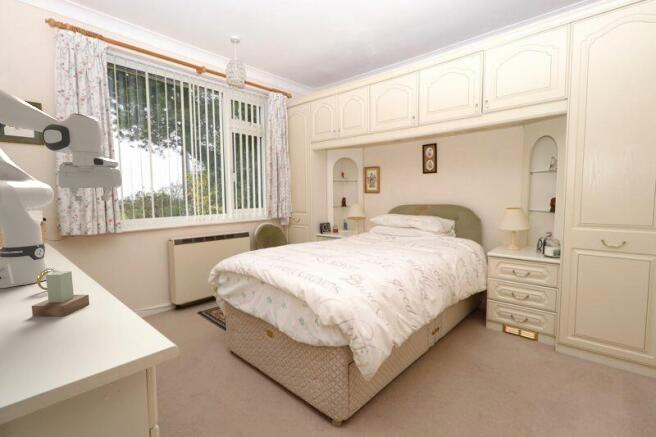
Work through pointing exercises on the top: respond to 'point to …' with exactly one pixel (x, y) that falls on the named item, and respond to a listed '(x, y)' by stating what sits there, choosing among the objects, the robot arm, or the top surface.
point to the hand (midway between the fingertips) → (91, 200)
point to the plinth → (60, 306)
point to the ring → (44, 275)
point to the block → (59, 286)
